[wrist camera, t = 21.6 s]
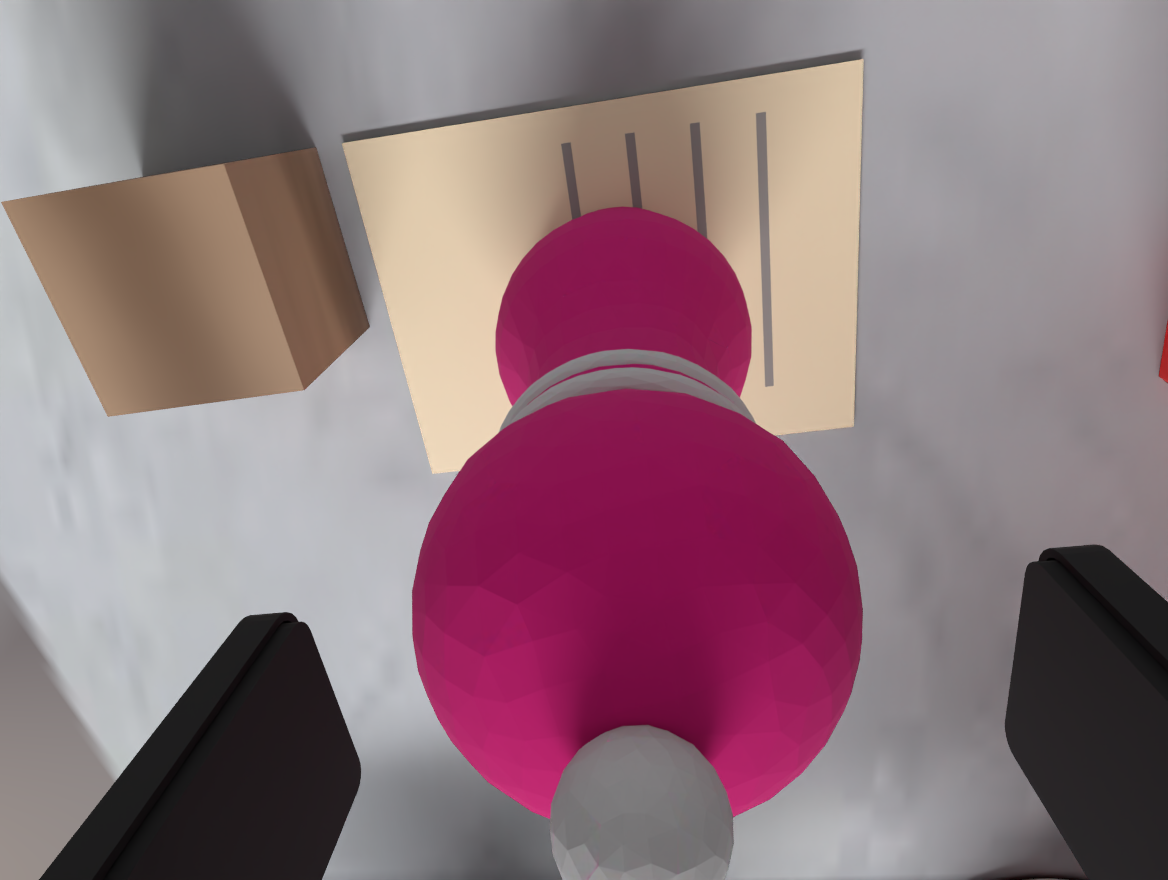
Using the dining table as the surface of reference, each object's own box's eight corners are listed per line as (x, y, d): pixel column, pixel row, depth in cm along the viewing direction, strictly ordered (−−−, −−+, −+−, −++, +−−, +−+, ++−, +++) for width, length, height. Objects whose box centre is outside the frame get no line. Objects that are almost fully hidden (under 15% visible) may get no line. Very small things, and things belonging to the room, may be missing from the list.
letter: (861, 59, 21) (863, 59, 20) (852, 424, 26) (853, 426, 26) (344, 142, 22) (341, 143, 22) (433, 471, 27) (432, 473, 27)
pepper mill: (738, 378, 25) (1056, 1097, 7) (542, 413, 26) (385, 1131, 8) (713, 167, 22) (1161, 497, 4) (491, 215, 23) (47, 659, 5)
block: (317, 147, 22) (223, 163, 17) (370, 326, 25) (304, 390, 20) (143, 176, 23) (1, 201, 18) (213, 348, 26) (107, 416, 20)
